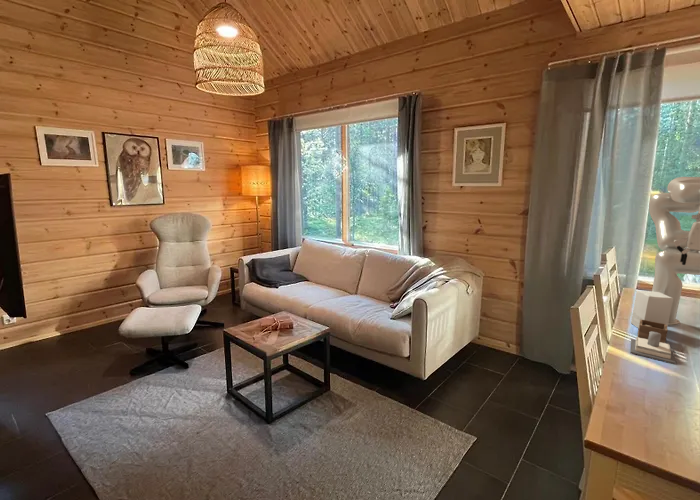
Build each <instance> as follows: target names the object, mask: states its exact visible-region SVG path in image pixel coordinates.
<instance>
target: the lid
mask: <svg viewBox="0 0 700 500" xmlns="http://www.w3.org/2000/svg"><path fill="white" fill-rule="evenodd" d="M660 338H661V334H660V333H657V332H652V331H651V332H649V337H648V339H644V338H639V337H638V336H636V338H635V340H636V347H635V351H639V352H643V353H647V354H651V355H656V356H660V357H664V358H668V359H670V358H671V349H670V348H671V346H670V343H666V342H665V343H662V342H660Z"/></svg>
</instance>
